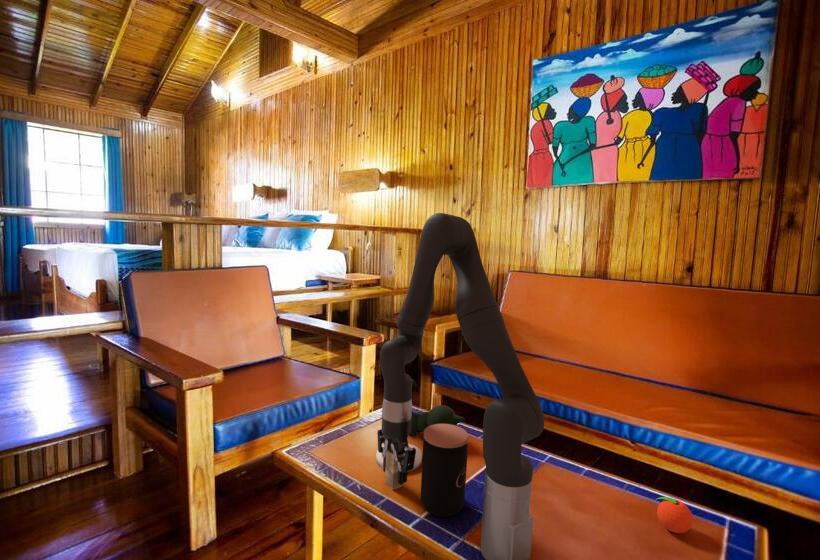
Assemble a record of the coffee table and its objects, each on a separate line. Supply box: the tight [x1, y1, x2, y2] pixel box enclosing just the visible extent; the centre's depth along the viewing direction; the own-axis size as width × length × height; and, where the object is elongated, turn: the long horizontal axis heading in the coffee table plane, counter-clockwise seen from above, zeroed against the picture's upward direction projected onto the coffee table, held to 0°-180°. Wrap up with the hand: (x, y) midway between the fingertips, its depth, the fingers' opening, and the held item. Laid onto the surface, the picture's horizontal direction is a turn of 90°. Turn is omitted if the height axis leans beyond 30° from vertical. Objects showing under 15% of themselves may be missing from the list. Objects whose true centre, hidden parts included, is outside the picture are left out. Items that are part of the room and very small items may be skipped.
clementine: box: [655, 496, 694, 534], centre depth 99 cm, size 8×7×7 cm
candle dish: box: [375, 442, 423, 473], centre depth 124 cm, size 13×13×4 cm
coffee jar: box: [419, 424, 469, 518], centre depth 104 cm, size 11×11×18 cm
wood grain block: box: [384, 450, 404, 491], centre depth 111 cm, size 3×3×9 cm
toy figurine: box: [409, 378, 466, 440], centre depth 138 cm, size 9×19×25 cm
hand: (394, 476), depth 112 cm, fingers open, 6 cm apart
